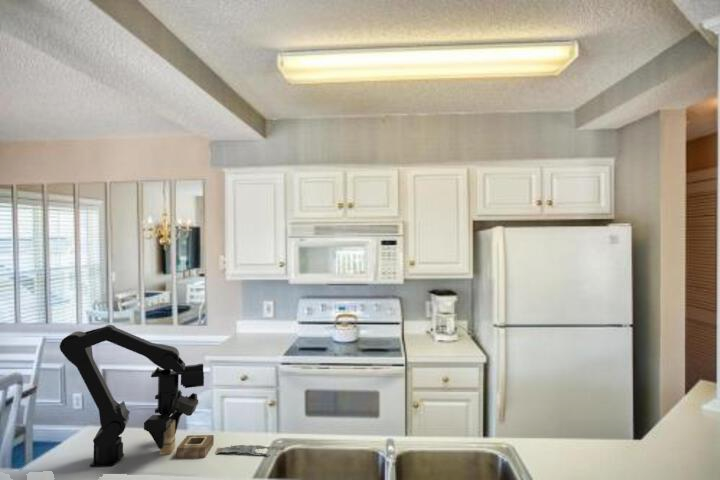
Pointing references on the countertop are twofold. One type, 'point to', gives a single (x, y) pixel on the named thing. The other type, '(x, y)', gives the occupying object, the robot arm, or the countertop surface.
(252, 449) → the driftwood
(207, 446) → the board
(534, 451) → the countertop surface
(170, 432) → the peg
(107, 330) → the robot arm
